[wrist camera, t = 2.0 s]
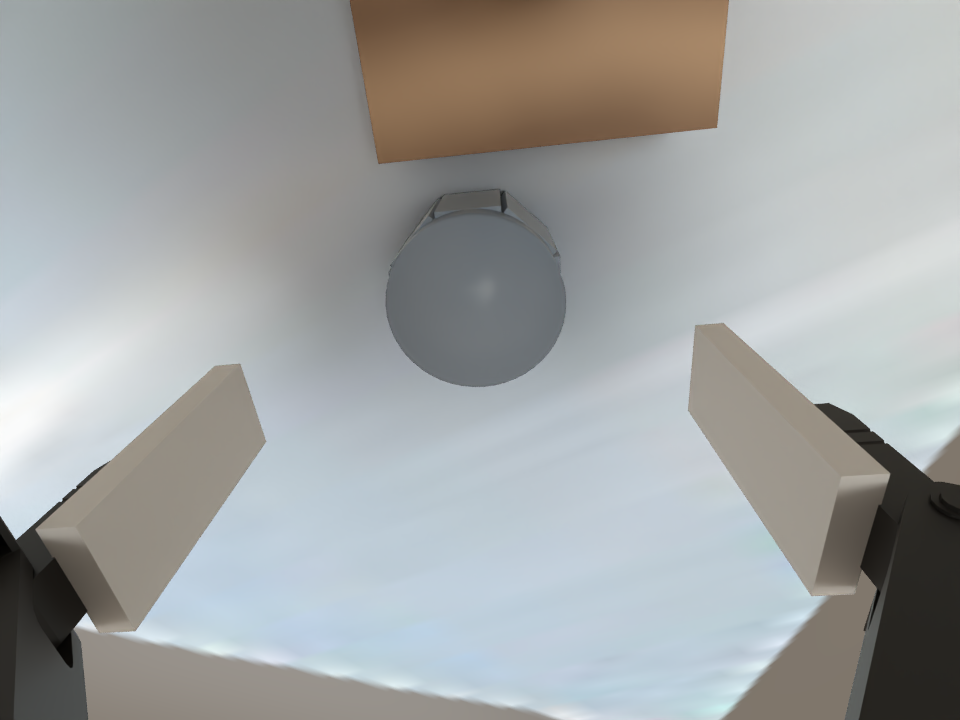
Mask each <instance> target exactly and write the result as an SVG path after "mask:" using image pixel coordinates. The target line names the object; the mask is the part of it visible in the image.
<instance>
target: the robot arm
mask: <svg viewBox="0 0 960 720" xmlns="http://www.w3.org/2000/svg"><path fill="white" fill-rule="evenodd" d="M688 411H689V412H690V414H691V415H692V417H693V418H694V420H695V422H696V423H697V425H698V426H699V428H700V429H701V431H702V432H703V434H704V435H705V437H706V438H707V440H708V441H709V443H710V444H711V446H712V447H713V449H714V450H715V452H716V453H717V455H718V456H719V458H720V459H721V461H722V462H723V464H724V465H725V467H726V468H727V470H728V471H729V473H730V474H731V476H732V477H733V479H734V480H735V482H736V483H737V485H738V486H739V488H740V489H741V491H742V492H743V494H744V495H745V497H746V498H747V500H748V501H749V503H750V504H751V506H752V507H753V509H754V510H755V512H756V513H757V515H758V516H759V518H760V519H761V521H762V522H763V524H764V525H765V527H766V528H767V530H768V531H769V533H770V534H771V536H772V537H773V539H774V540H775V542H776V543H777V545H778V546H779V548H780V549H781V551H782V552H783V554H784V555H785V557H786V558H787V560H788V561H789V563H790V564H791V566H792V568H793V569H794V571H795V572H796V574H797V575H798V577H799V578H800V580H801V581H802V583H803V584H804V586H805V587H806V589H807V590H808V592H809V593H810V595H811V596H825V595H844V594H855V591H856V587H857V584H858V581H859V577H860V574H861V571H862V570H863V571H864V573H865V574H866V575H867V576H868V577H869V579H870V580H871V581H872V582H873V584H874V585H875V586H876V587H877V590H876V593H875V596H874V599H873V603H872V606H871V608H870V612H869V615H868V618H867V621H866V624H865V627H864V631H866V632H865V636H864V640H863V645H862V649H861V653H860V657H859V661H858V666H857V670H856V674H855V678H854V682H853V687H852V691H851V695H850V699H849V703H848V708H847V712H846V716H845V720H960V485H955V484H950V483H945V482H933V481H932V480H931V479H930V478H929V477H927V476H926V475H925V474H924V473H923V472H921V471H920V470H919V469H918V468H917V467H915V466H914V465H913V464H912V463H911V462H909V461H908V460H907V459H906V458H905V457H903V456H902V455H901V454H900V453H899V452H897V451H896V450H895V449H894V448H893V447H891V446H890V445H889V444H888V443H886V444H885V443H884V440H883V439H882V438H881V437H879V436H878V435H877V434H876V433H874V432H870V428H868V427H867V426H866V425H865V424H864V423H862V422H861V421H860V420H859V419H858V418H856V417H855V416H854V415H853V414H851V413H848V412H846V411H844V410H842V409H840V408H838V407H836V406H834V405H832V404H829V403H824V404H813V403H812V402H810V401H809V400H808V399H807V398H806V397H805V396H804V395H803V394H802V393H800V392H799V391H798V390H797V389H796V388H795V387H794V386H793V385H792V384H790V383H789V382H788V381H787V380H786V379H785V378H784V377H783V376H782V375H780V374H779V373H778V372H777V371H776V370H775V369H774V368H773V367H772V366H770V365H769V364H768V363H767V362H766V361H765V360H764V359H763V358H762V357H760V356H759V355H758V354H757V353H756V352H755V351H754V350H753V349H752V348H750V347H749V346H748V345H747V344H746V343H745V342H744V341H743V340H742V339H740V338H739V337H738V336H737V335H736V334H735V333H734V332H733V331H732V330H730V329H729V328H728V327H727V326H726V325H725V324H724V323H719V324H707V325H695V334H694V346H693V357H692V369H691V381H690V393H689V405H688ZM265 443H266V440H265V437H264V434H263V431H262V428H261V425H260V422H259V419H258V416H257V413H256V410H255V407H254V404H253V401H252V398H251V395H250V392H249V389H248V386H247V383H246V380H245V377H244V374H243V371H242V368H241V365H240V364H231V365H219V366H214V367H213V368H212V369H211V370H210V371H209V372H208V373H207V374H206V375H205V376H203V377H202V378H201V379H200V380H199V381H198V382H197V383H196V384H195V385H194V386H192V387H191V388H190V389H189V390H188V391H187V392H186V393H185V394H184V395H183V396H181V397H180V398H179V399H178V400H177V401H176V402H175V403H174V404H173V405H172V406H170V407H169V408H168V409H167V410H166V411H165V412H164V413H163V414H162V415H161V416H159V417H158V418H157V419H156V420H155V421H154V422H153V423H152V424H151V425H150V426H148V427H147V428H146V429H145V430H144V431H143V432H142V433H141V434H140V435H139V436H137V437H136V438H135V439H134V440H133V441H132V442H131V443H130V444H129V445H128V446H126V447H125V448H124V449H123V450H122V451H121V452H120V453H119V454H118V455H117V456H115V457H114V458H113V459H112V460H111V461H109V462H107V463H106V464H104V465H103V466H101V467H99V468H98V469H96V470H94V471H93V472H92V473H91V474H90V475H88V476H87V477H86V478H85V479H84V480H83V481H82V482H81V483H79V484H78V485H77V486H76V487H77V488H76V489H73V490H72V491H71V492H69V493H68V494H67V495H66V496H65V497H64V498H63V501H62V502H58V503H57V504H56V505H55V506H54V507H53V508H52V509H50V510H49V511H48V512H47V513H46V514H45V515H44V516H43V517H41V518H40V519H39V520H38V521H37V522H36V523H35V524H34V525H33V526H31V527H30V528H29V529H28V530H27V531H26V532H25V533H24V534H22V535H21V536H20V537H19V538H18V539H17V540H15V538H14V537H13V535H12V533H11V532H10V530H9V529H8V527H7V526H6V524H5V523H4V521H3V520H2V518H1V516H0V720H88V713H87V702H86V692H85V681H84V670H83V659H82V648H81V641H80V639H79V637H78V636H77V634H76V632H75V631H74V629H73V628H74V627H75V626H76V625H77V624H78V622H79V621H80V620H81V619H82V617H83V616H84V615H85V614H86V612H87V614H88V616H89V617H90V619H91V620H92V622H93V624H94V625H95V627H96V629H97V630H98V632H99V633H110V632H129V631H136V630H137V628H138V627H139V625H140V624H141V622H142V621H143V620H144V618H145V617H146V615H147V614H148V612H149V611H150V609H151V608H152V607H153V605H154V604H155V602H156V601H157V599H158V598H159V596H160V595H161V593H162V592H163V591H164V589H165V588H166V586H167V585H168V583H169V582H170V580H171V579H172V578H173V576H174V575H175V573H176V572H177V570H178V569H179V567H180V566H181V564H182V563H183V562H184V560H185V559H186V557H187V556H188V554H189V553H190V551H191V550H192V548H193V547H194V546H195V544H196V543H197V541H198V540H199V538H200V537H201V535H202V534H203V533H204V531H205V530H206V528H207V527H208V525H209V524H210V522H211V521H212V519H213V518H214V517H215V515H216V514H217V512H218V511H219V509H220V508H221V506H222V505H223V504H224V502H225V501H226V499H227V498H228V496H229V495H230V493H231V492H232V490H233V489H234V488H235V486H236V485H237V483H238V482H239V480H240V479H241V477H242V476H243V475H244V473H245V472H246V470H247V469H248V467H249V466H250V464H251V463H252V461H253V460H254V459H255V457H256V456H257V454H258V453H259V451H260V450H261V448H262V447H263V446H264V444H265Z"/></svg>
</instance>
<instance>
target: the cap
mask: <svg viewBox="0 0 960 720" xmlns="http://www.w3.org/2000/svg"><path fill="white" fill-rule="evenodd" d="M390 266H391V267H392V268H391V269H390V271H389V280H388V283H387V290H386V311H387V318H388V321H389V325H390V328H391V331H392V333H393V335H394V337H395V339H396V341H397V343H398V344H399V346H400V348H401V349H402V350H403V351H404V353H405V354H406V355H407V356H408V357H409V358H410V359H411V360H412V361H413V363H415V364H416V365H417V366H418V367H420V368H421V369H422V370H424V371H425V372H427V373H429V374H430V375H432V376H434V377H436V378H438V379H440V380H443V381H446V382H449V383H452V384H457V385H461V386H470V387H485V386H492V385H497V384H501V383H505V382H508V381H511V380H513V379H516V378H518V377H520V376H521V375H523V374H525V373H527V372H528V371H530V370H531V369H532V368H534V367H535V366H536V365H537V364H538V363H540V362H541V361H542V360H543V359H544V357H545V356H546V355H547V354H548V353H549V352H550V350H551V349H552V347H553V346H554V344H555V342H556V340H557V338H558V336H559V334H560V332H561V329H562V326H563V323H564V317H565V312H566V296H565V288H564V284H563V279H562V276H561V270H560V255H559V253H558V251H557V248H556V246H555V244H554V241H553V239H552V237H551V235H550V232H549V231H548V228H547V227H546V226H545V225H544V224H543V223H542V222H541V221H539V220H538V219H537V218H536V217H535V216H534V215H532V214H531V213H530V212H529V211H528V210H527V209H526V208H524V207H523V206H522V205H521V204H520V203H519V202H518V201H516V200H515V199H514V198H513V197H512V196H511V195H509V194H508V193H507V192H506V191H505V192H504V193H503V194H502V196H501V197H500V189H496V190H486V191H476V192H466V193H456V194H446V195H444V196H443V197H442V199H440V198H438V199H437V201H436V202H435V203H434V205H433V206H432V207H431V209H430V210H429V211H428V213H427V214H426V215H425V217H424V218H423V219H422V221H421V222H420V223H419V225H418V226H417V227H416V229H415V230H414V231H413V233H412V234H411V235H410V237H409V238H408V239H407V241H406V242H405V244H404V245H403V247H402V248H401V250H400V251H399V253H398V254H397V256H396V257H395V259H394V261H393V262H392V264H391V265H390Z"/></svg>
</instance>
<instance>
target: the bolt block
mask: <svg viewBox="0 0 960 720" xmlns="http://www.w3.org/2000/svg"><path fill="white" fill-rule="evenodd" d="M728 3H729V0H350V5H351V11H352V16H353V22H354V28H355V33H356V39H357V45H358V50H359V56H360V62H361V67H362V73H363V79H364V84H365V90H366V96H367V101H368V107H369V113H370V118H371V124H372V130H373V135H374V141H375V147H376V152H377V158H378V164H382V163H391V162H400V161H410V160H419V159H428V158H438V157H447V156H457V155H466V154H475V153H485V152H494V151H503V150H513V149H522V148H532V147H541V146H550V145H560V144H569V143H579V142H588V141H597V140H607V139H616V138H625V137H635V136H644V135H654V134H663V133H672V132H682V131H691V130H700V129H710V128H717V122H718V111H719V100H720V89H721V79H722V68H723V57H724V46H725V36H726V25H727V14H728Z"/></svg>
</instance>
